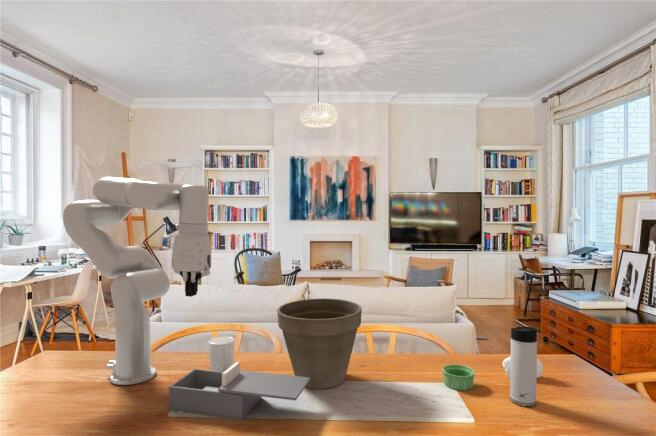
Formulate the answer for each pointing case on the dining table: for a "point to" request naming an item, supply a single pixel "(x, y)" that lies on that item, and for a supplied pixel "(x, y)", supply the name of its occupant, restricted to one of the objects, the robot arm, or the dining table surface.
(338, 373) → the plant pot
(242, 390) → the mailer lid
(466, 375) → the ramekin
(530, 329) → the travel mug
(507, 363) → the bust
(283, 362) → the dining table surface
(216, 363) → the white cup
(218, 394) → the box
